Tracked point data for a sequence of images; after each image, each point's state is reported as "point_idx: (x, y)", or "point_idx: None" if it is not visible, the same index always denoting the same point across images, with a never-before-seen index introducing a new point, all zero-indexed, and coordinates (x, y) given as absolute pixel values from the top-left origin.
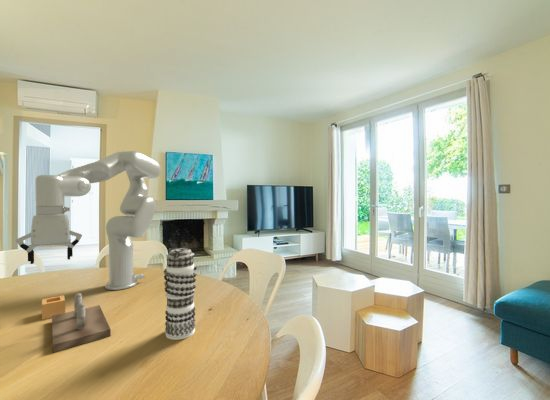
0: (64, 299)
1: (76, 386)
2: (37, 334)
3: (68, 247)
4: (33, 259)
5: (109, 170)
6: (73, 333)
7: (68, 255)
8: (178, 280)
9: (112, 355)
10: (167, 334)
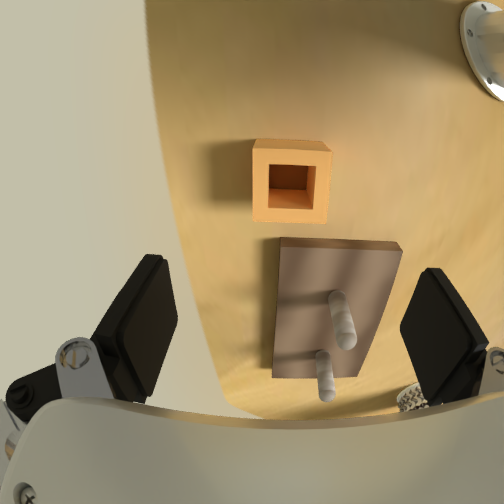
0: (326, 213)
1: (285, 419)
2: (248, 291)
3: (444, 399)
4: (167, 336)
5: None
6: (305, 363)
7: (412, 354)
8: None
9: (332, 401)
10: (400, 396)
